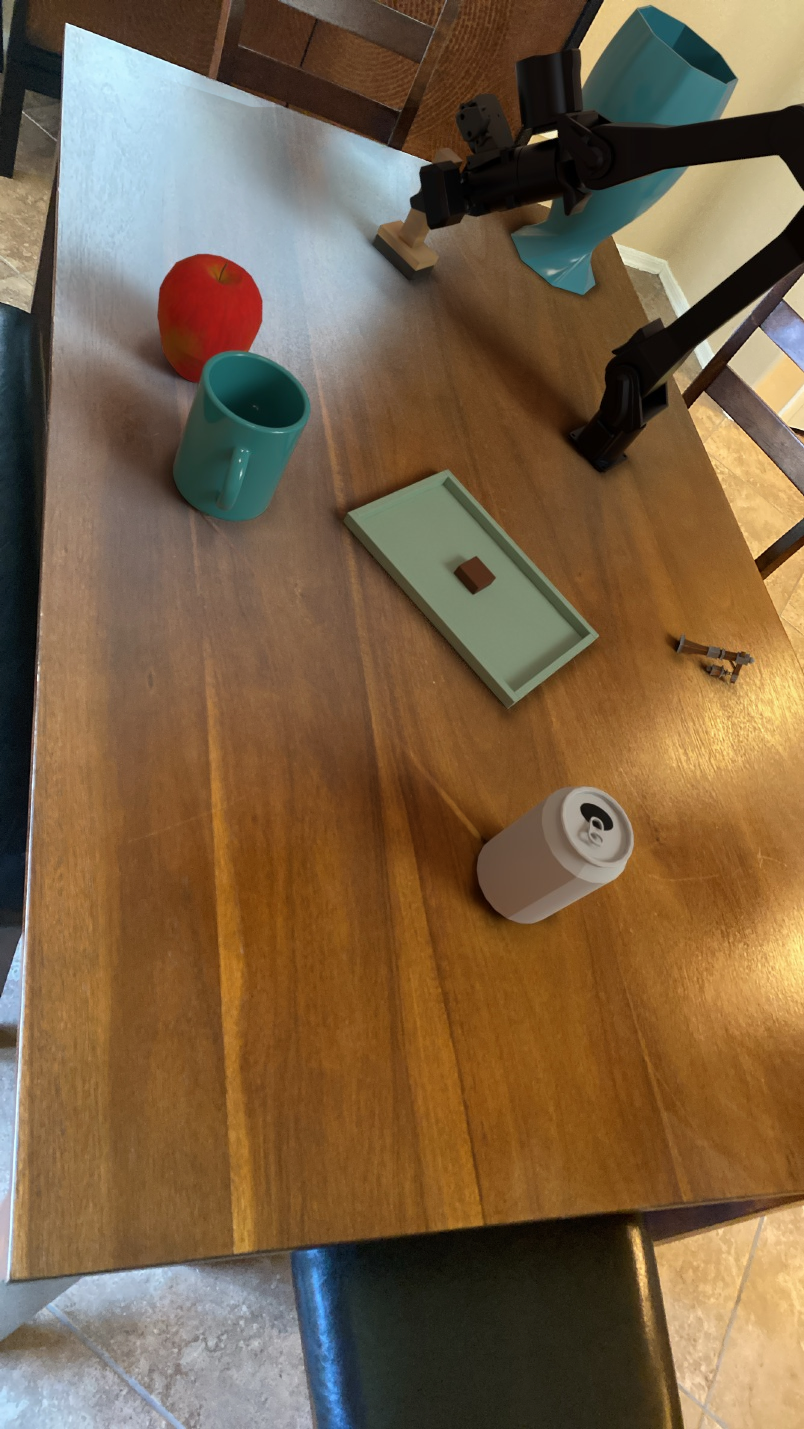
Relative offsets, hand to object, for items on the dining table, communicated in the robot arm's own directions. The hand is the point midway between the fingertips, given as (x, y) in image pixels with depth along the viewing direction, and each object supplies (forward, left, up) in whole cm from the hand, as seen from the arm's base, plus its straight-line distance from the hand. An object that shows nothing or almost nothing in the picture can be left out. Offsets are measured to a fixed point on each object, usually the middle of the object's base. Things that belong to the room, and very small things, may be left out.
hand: (417, 201), depth 106 cm
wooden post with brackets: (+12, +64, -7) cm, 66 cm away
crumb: (+31, +43, -6) cm, 54 cm away
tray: (+32, +43, -7) cm, 54 cm away
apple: (+41, +10, -7) cm, 43 cm away
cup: (+49, +24, -7) cm, 55 cm away
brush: (0, +1, -7) cm, 7 cm away
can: (+52, +66, -7) cm, 85 cm away
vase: (-31, +6, -7) cm, 32 cm away
